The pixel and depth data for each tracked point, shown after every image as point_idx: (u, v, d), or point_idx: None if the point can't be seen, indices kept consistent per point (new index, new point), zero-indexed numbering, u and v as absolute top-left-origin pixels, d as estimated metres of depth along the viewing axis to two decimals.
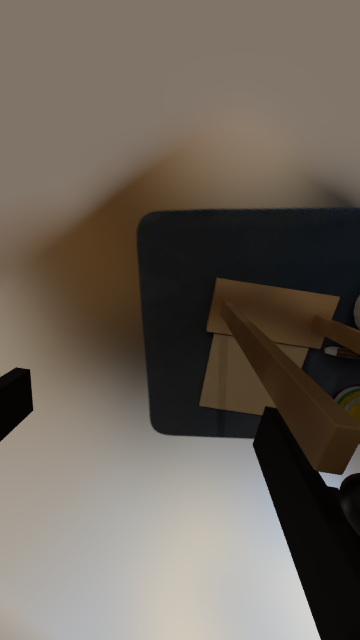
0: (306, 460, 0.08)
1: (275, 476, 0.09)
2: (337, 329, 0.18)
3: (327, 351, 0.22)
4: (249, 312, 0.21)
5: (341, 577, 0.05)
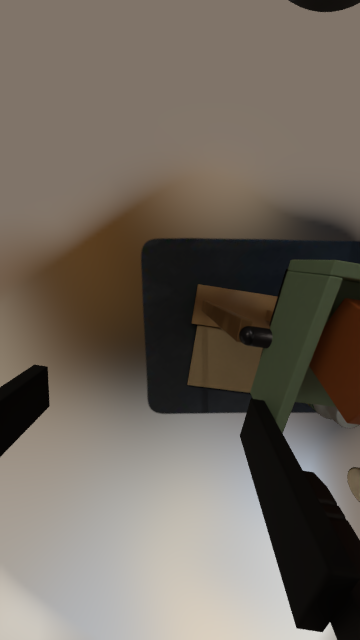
0: (285, 446, 0.08)
1: (258, 463, 0.09)
2: None
3: None
4: None
5: (307, 548, 0.06)
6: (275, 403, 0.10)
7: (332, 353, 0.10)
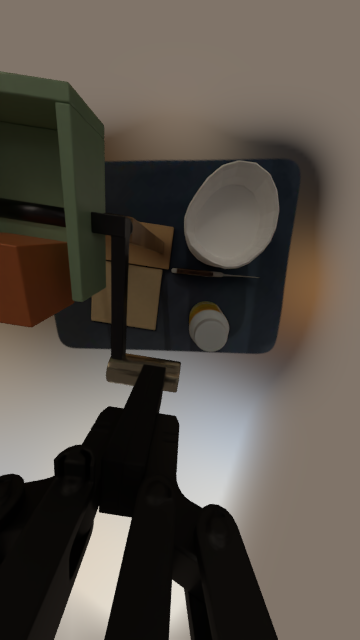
0: (155, 396, 0.10)
1: None
2: None
3: (172, 270, 0.30)
4: None
5: None
6: None
7: None
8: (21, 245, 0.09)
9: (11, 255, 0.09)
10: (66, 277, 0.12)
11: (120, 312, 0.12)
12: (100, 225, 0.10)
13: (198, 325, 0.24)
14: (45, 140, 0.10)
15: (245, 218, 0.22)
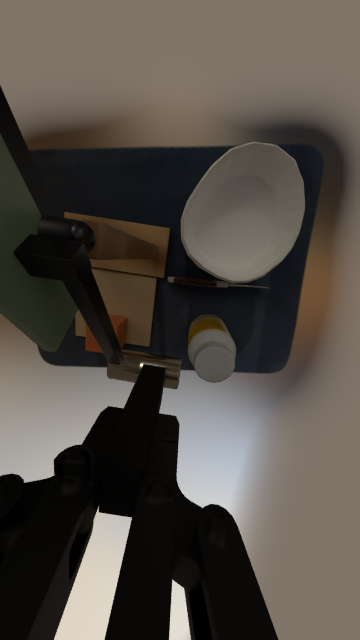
0: (155, 396, 0.10)
1: None
2: None
3: (168, 279, 0.25)
4: None
5: None
6: None
7: None
8: (124, 343, 0.29)
9: None
10: (118, 338, 0.25)
11: (106, 340, 0.10)
12: (38, 269, 0.06)
13: (199, 350, 0.19)
14: None
15: (258, 218, 0.17)
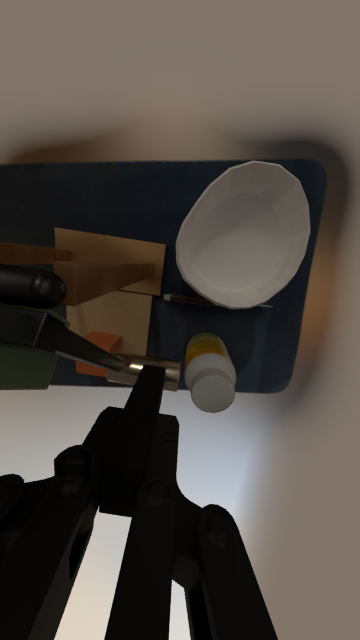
0: (155, 396, 0.10)
1: None
2: None
3: (164, 297, 0.24)
4: (89, 260, 0.24)
5: None
6: None
7: None
8: None
9: None
10: None
11: (99, 365, 0.10)
12: (1, 344, 0.06)
13: (196, 378, 0.18)
14: None
15: (259, 239, 0.16)
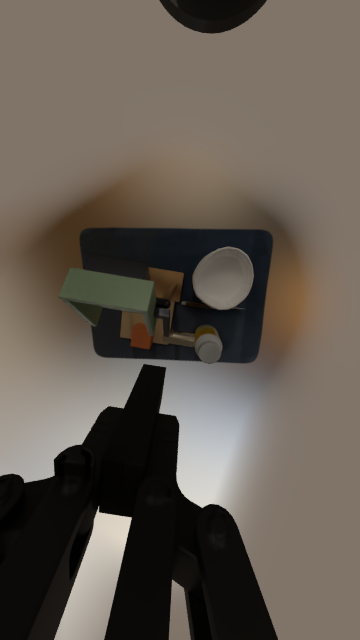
0: (155, 396, 0.10)
1: None
2: None
3: (182, 303, 0.41)
4: None
5: None
6: None
7: None
8: (152, 342, 0.44)
9: None
10: (151, 339, 0.41)
11: (167, 330, 0.27)
12: (157, 317, 0.23)
13: (201, 345, 0.35)
14: None
15: (233, 276, 0.34)
